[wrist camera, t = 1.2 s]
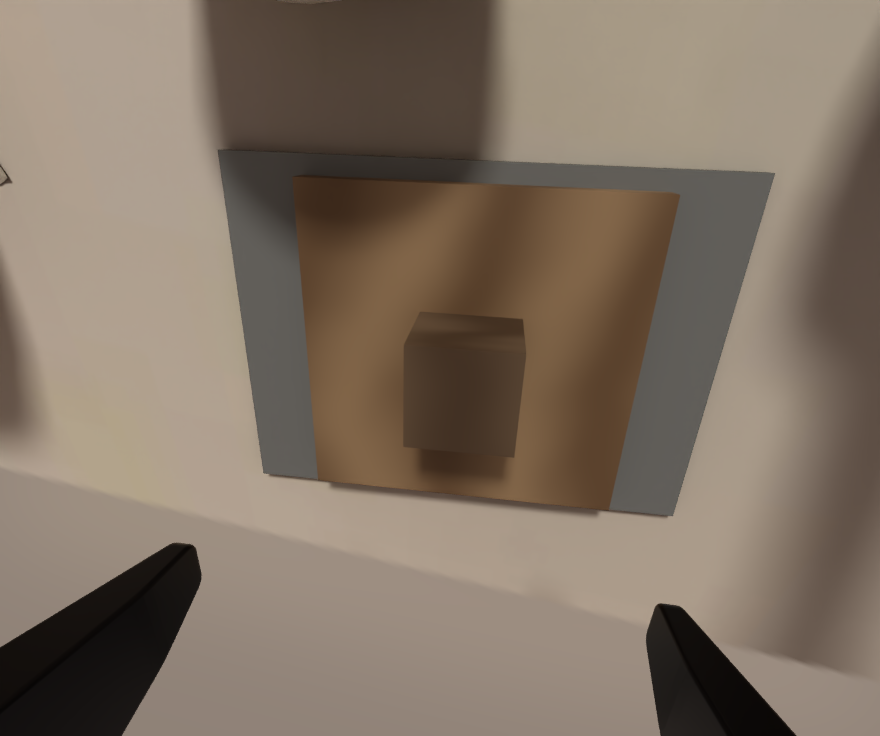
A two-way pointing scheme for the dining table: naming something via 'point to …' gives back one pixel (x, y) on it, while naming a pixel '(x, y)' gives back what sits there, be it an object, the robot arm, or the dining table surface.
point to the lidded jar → (307, 1)
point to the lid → (477, 332)
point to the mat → (696, 222)
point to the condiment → (2, 176)
